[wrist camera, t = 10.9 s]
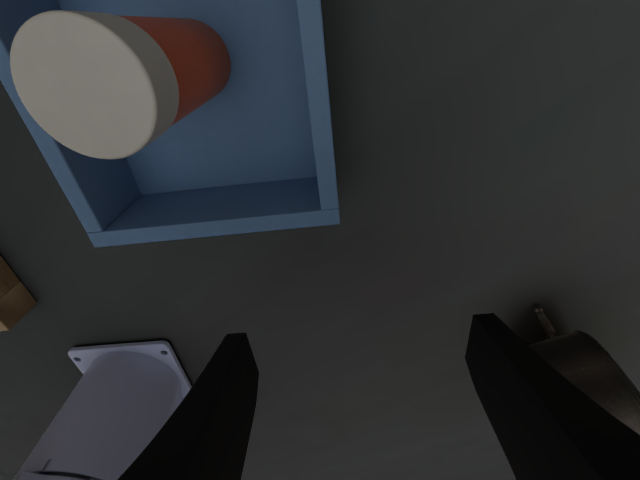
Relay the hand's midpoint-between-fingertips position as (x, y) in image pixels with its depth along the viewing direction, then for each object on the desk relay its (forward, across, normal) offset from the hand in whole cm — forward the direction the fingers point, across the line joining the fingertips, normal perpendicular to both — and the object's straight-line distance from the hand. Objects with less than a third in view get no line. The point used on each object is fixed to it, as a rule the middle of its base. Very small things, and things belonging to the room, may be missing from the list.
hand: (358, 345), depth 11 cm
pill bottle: (+10, +6, -8) cm, 14 cm away
